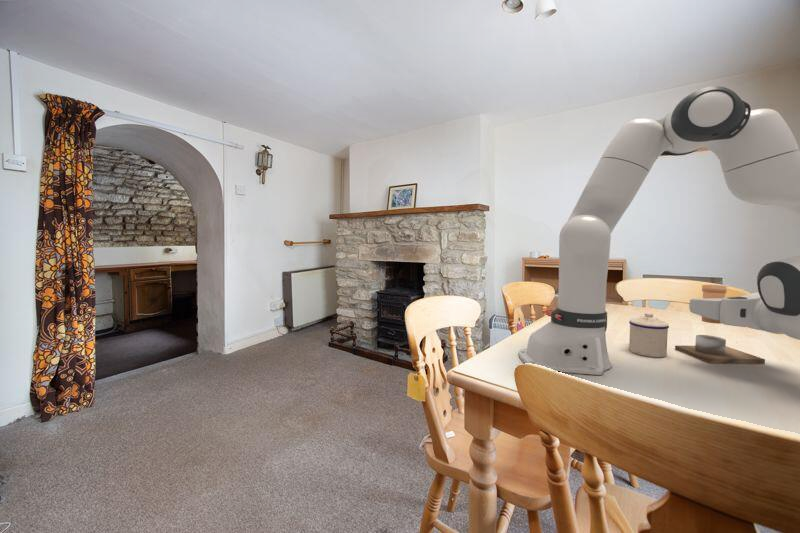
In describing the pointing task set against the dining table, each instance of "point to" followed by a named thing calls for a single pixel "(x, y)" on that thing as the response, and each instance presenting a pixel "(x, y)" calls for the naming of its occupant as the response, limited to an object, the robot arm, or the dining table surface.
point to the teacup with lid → (648, 336)
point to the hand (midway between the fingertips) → (710, 301)
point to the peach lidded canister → (713, 292)
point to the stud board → (722, 359)
